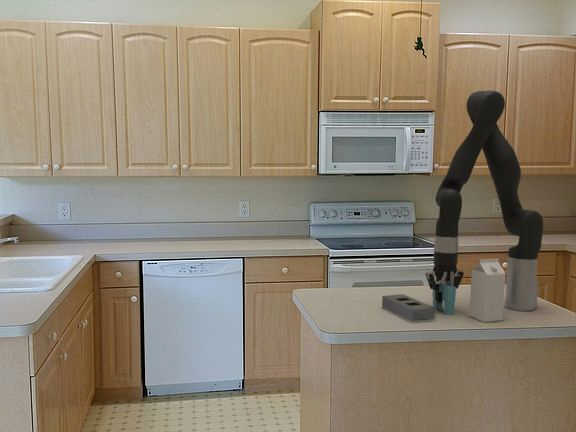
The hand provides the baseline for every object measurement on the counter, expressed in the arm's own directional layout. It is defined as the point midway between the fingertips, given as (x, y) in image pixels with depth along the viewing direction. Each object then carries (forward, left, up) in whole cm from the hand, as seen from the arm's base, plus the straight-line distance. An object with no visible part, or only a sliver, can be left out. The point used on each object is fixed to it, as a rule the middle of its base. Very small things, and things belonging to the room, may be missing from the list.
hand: (443, 301), depth 186 cm
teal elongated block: (0, 0, -3) cm, 3 cm away
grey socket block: (+13, -1, -3) cm, 13 cm away
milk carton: (-8, +11, -3) cm, 14 cm away
